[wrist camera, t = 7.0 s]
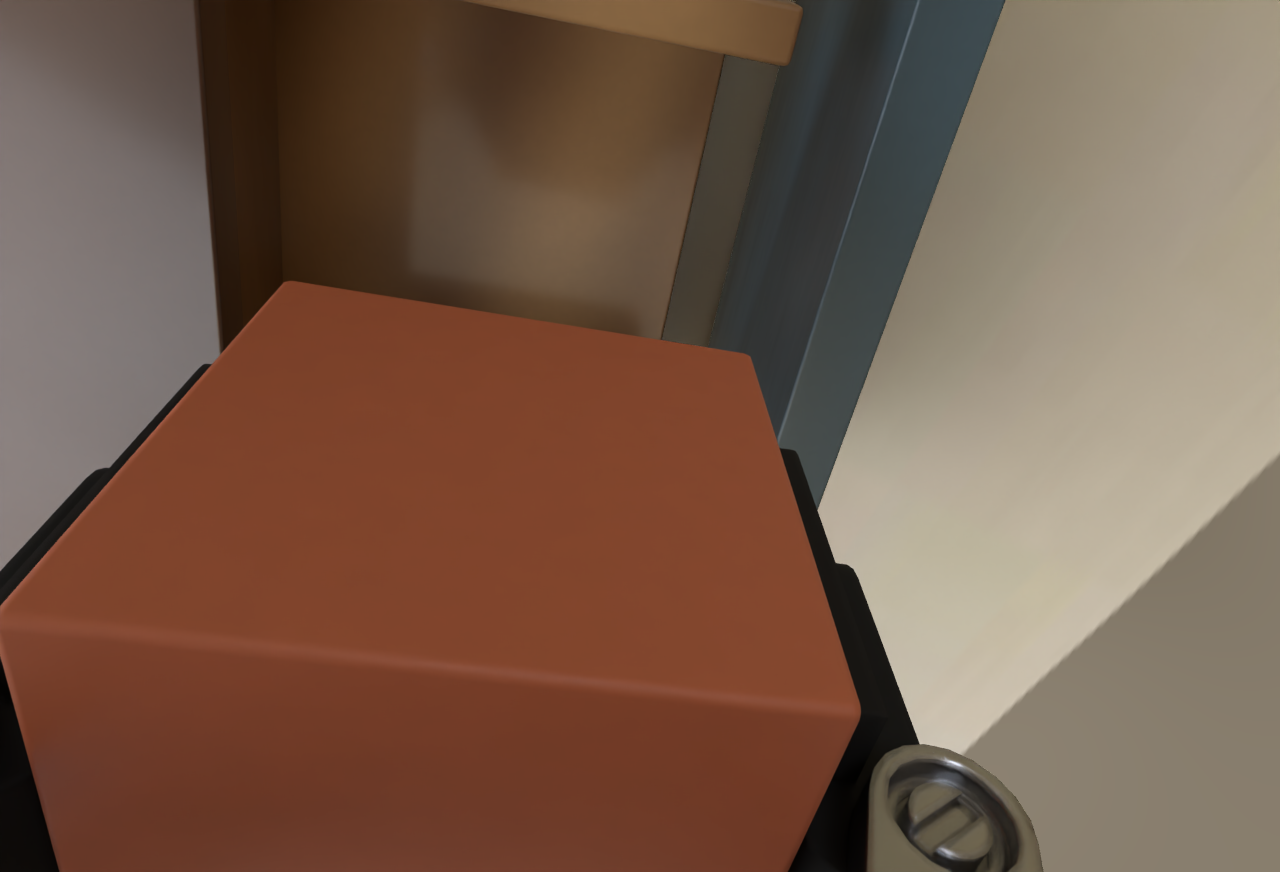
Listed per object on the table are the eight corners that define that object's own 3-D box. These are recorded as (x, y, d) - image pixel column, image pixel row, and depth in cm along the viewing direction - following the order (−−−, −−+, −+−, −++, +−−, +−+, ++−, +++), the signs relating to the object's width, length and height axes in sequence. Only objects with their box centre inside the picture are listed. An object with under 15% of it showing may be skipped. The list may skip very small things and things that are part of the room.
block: (752, 351, 9) (869, 715, 5) (662, 668, 12) (690, 1086, 8) (284, 276, 9) (-20, 617, 5) (293, 627, 11) (105, 1057, 7)
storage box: (917, -34, 18) (1096, 1, 12) (764, 453, 25) (821, 657, 18) (246, -184, 17) (0, -245, 10) (270, 382, 23) (131, 577, 16)
